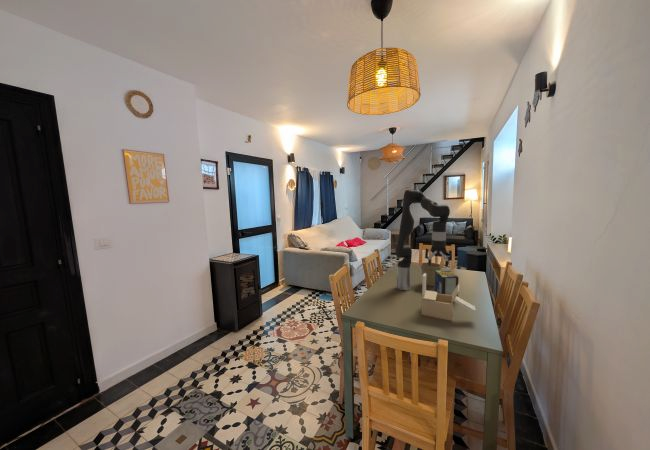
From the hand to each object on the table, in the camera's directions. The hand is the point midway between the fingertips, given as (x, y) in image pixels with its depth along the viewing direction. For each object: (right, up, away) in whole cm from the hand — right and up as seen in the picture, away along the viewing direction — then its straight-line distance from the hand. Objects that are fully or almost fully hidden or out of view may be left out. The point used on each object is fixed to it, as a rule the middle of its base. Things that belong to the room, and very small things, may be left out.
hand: (438, 266), depth 148 cm
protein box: (+19, -25, +30) cm, 43 cm away
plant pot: (+17, -23, +51) cm, 59 cm away
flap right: (+8, -14, -3) cm, 17 cm away
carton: (+1, -28, +2) cm, 28 cm away
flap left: (-4, -18, +3) cm, 19 cm away
